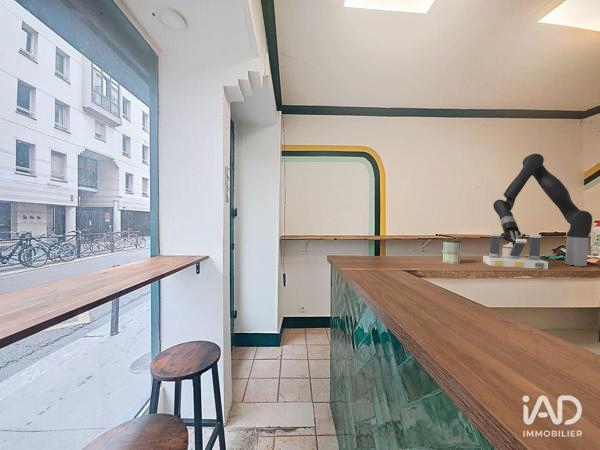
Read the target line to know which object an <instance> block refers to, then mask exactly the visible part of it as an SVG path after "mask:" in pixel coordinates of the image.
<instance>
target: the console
mask: <svg viewBox="0 0 600 450" xmlns="http://www.w3.org/2000/svg"><path fill="white" fill-rule="evenodd" d="M482 262H483V263H484V264H486V265H488V266H492V267H504V268H505V267H507V268H508V267H509V268H523V269H525V268H526V269H538V268H543V269H542V270H548V269H549V261H547V260H543V259H540V260H535V259H528V257H520V258H519V259H516V258H509V257H502V256H500V257H499V258H497V257H489V255H483V256H482Z"/></svg>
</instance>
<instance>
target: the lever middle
mask: <svg viewBox="0 0 600 450" xmlns="http://www.w3.org/2000/svg"><path fill="white" fill-rule="evenodd" d="M527 242H528V240H527V239H525V238H523V239H520V238H518V239H516V242H515V244H514V246H513V248H512V250H511V252H510V254H509V255H508V257H509V258H516V259H519V258H521V257H520V256H521V254H522V252H523V249H524V248H525V247H526V246H525V245H526V244H527Z"/></svg>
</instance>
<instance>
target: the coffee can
mask: <svg viewBox="0 0 600 450" xmlns="http://www.w3.org/2000/svg"><path fill="white" fill-rule="evenodd" d="M461 249H462V240H461V239H455V238H454V239H451V238H443V239H442V252H441V255H442V256H441V262H443V263H445V264H461Z"/></svg>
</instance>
